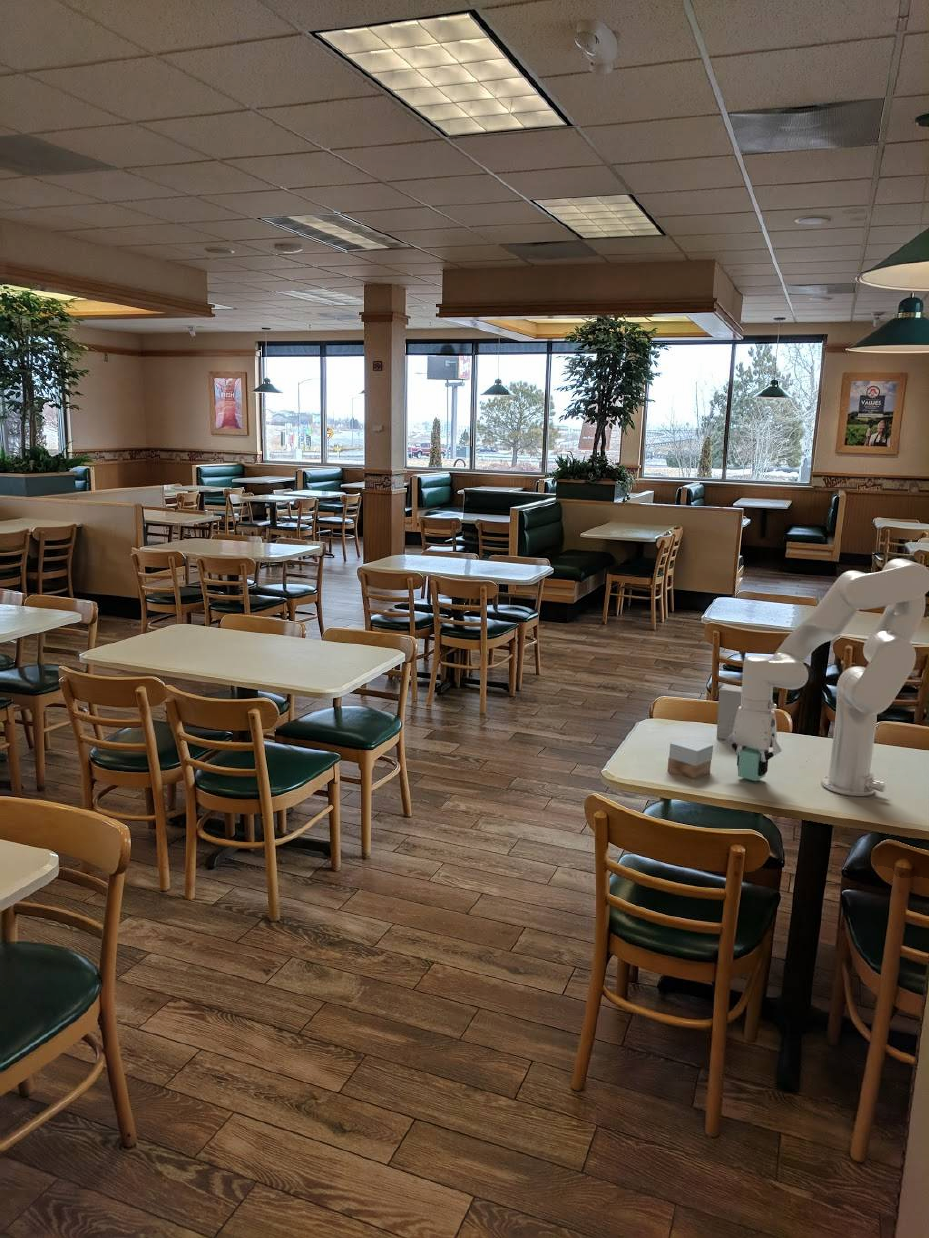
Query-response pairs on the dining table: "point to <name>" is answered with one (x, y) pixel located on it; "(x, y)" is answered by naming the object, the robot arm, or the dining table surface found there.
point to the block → (749, 764)
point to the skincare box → (727, 709)
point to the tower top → (691, 751)
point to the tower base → (688, 768)
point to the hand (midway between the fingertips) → (751, 771)
